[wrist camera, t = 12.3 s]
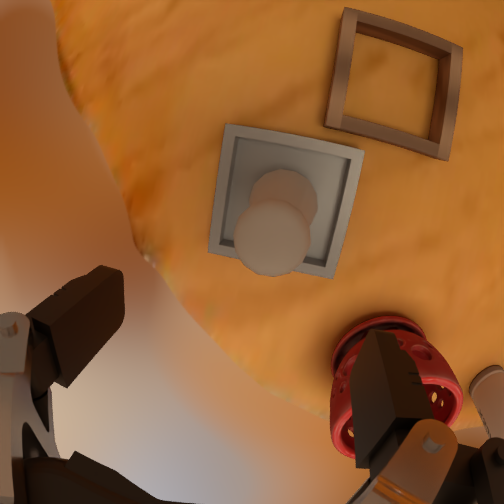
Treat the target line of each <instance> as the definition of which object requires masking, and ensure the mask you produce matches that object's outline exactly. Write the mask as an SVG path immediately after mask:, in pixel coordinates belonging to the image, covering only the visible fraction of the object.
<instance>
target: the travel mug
mask: <svg viewBox="0 0 504 504" xmlns="http://www.w3.org/2000/svg"><path fill="white" fill-rule="evenodd" d="M469 392H470V395H471V397H472V399H473V402H474V404H475V406H476V408H477V411H478V413H479V415H480V418H481V420H482V422H483V425H484V427H485V430H486V432H487V434H488V437H489V439H490V438H493V437H499V438H502V439H504V370H503V368H502V367H500V366H492V367H489V368H487V369H485V370H483V371H482V372H481V373H480V374H479V375H477V376H476V378H475V379H474V380H473V382H472V383H471V385H470V389H469Z"/></svg>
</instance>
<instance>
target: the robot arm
mask: <svg viewBox="0 0 504 504" xmlns="http://www.w3.org/2000/svg"><path fill="white" fill-rule="evenodd" d="M124 315H125V304H124V279H123V273H122V272H121V271H120V270H117V269H114V268H110V267H107V266H103V265H100V266H98V267H96V268H95V269H94V270H92V271H91V272H89V273H88V274H87V275H84V276H81V277H78V278H76V279H73V280H71V281H69V282H68V283H67V284H66V285H64V286H63V287H62V289H59V290H57V291H56V292H55V293H54V295H50V296H49V297H48V298H47V299H45V300H44V301H43V302H41V303H40V304H39V305H37V306H36V307H35V308H33V309H32V310H31V311H30V312H29V313H27V314H26V315H24V314H22V313H18V312H7V313H3V314H0V504H194V503H181V502H171V501H163V500H159V499H157V498H155V497H153V496H151V495H150V494H148V493H147V492H145V491H144V490H142V489H141V488H139V487H138V486H136V485H135V484H133V483H132V482H131V481H129V480H128V479H126V478H125V477H124V476H122V475H121V474H119V473H118V472H117V471H115V470H113V469H111V468H109V467H107V466H104V465H102V464H100V463H98V462H96V461H94V460H92V459H90V458H88V457H86V456H84V455H82V454H80V453H78V452H77V451H74V453H73V455H72V456H71V457H70V459H69V460H68V459H62V458H60V455H59V452H58V450H57V446H56V443H55V437H54V425H53V410H52V392H51V389H50V386H51V385H52V384H53V382H56V383H58V384H60V385H61V386H63V387H65V388H68V387H69V386H70V384H71V383H72V382H73V381H74V379H75V378H76V377H77V376H78V375H79V374H80V373H81V371H82V370H83V369H84V368H85V367H86V366H87V364H88V363H89V362H90V361H91V360H92V359H93V357H94V356H95V355H96V354H97V353H98V352H99V350H100V349H101V348H102V347H103V346H104V345H105V343H106V342H107V341H108V340H109V339H110V338H111V337H112V336H113V334H114V333H115V332H116V331H117V330H118V329H119V328H120V326H121V324H122V322H123V319H124ZM422 384H423V382H422V379H421V377H420V376H419V371H418V368H417V366H416V363H415V361H414V360H413V359H412V357H411V356H410V355H409V354H408V353H407V352H406V350H401V349H400V347H399V344H398V341H397V338H396V335H395V334H394V333H393V332H388V331H382V330H376V329H371V330H369V332H368V334H367V336H366V338H365V340H364V343H363V345H362V347H361V349H360V352H359V354H358V356H357V358H356V360H355V363H354V365H353V367H352V370H351V374H350V381H349V386H350V395H351V406H352V417H353V429H354V443H355V460H356V468H364V469H370V477H369V478H368V479H367V480H366V481H365V482H364V483H363V485H362V486H361V487H360V488H359V489H358V490H357V492H356V493H355V494H354V495H353V496H352V497H351V498H350V499H349V501H348V502H347V503H346V504H477V503H478V504H504V439H502V438H499V437H493V438H490V439H488V440H487V441H486V442H485V443H484V444H483V445H482V446H481V447H480V448H479V449H478V448H474V447H470V446H466V445H462V444H459V443H458V442H457V438H456V436H455V434H454V432H453V431H452V430H451V429H450V428H449V427H448V426H447V425H446V424H444V423H442V422H440V421H438V420H435V418H434V415H433V412H432V409H431V406H430V403H429V400H428V397H427V394H426V391H425V388H424V386H422Z"/></svg>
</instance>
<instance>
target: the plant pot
mask: <svg viewBox="0 0 504 504" xmlns="http://www.w3.org/2000/svg"><path fill="white" fill-rule="evenodd" d="M371 329H376V330H382V331H388V332H393V333H394V334H395V335H396V338H397V341H398V344H399V347H400V349H401V350H406V352H407V353H408V354H409V355H410V356H411V357H412V359H413V360H414V361H415V363H416V366H417V368H418V371H419V376H420V377H421V379H422V382H423V384H422V386H424V388H425V391H426V394H427V397H428V400H429V403H430V406H431V409H432V412H433V415H434V418H435V420H438V421H440V422H442V423H444V424H446V425H447V426H448V427H449V428H450V427H451V425H452V424H453V423H454V422H455V420H456V419H457V417H458V415H459V413H460V411H461V408H462V404H463V392H462V389H461V387H460V385H459V383H458V381H457V378H456V376H455V375H454V373H453V371H452V369H451V368H450V366H449V364H448V363H447V361H446V360H445V359H444V357H443V356H442V355H441V354H440V353H439V351H438V350H437V349H436V348H435V347H434V346H433V345H431V344H430V343H429V342H428V341H427V339H426V336H425V334H424V332H423V331H422V329H421V328H420V327H419V326H418V325H417V324H416V323H414V322H413V321H411V320H409V319H406V318H403V317H398V316H382V317H377V318H373V319H370V320H368V321H365V322H363V323H361V324H359V325H357V326H356V327H354V328H353V329H351V330H350V331H349V332H348V333H347V334H345V335H344V336H343V338H342V339H341V340H340V342H339V343H338V345H337V346H336V348H335V350H334V353H333V356H332V360H331V371H332V375H333V377H334V381H333V385H332V391H331V398H330V431H331V439H332V442H333V444H334V446H335V448H336V449H337V450H338V451H339V452H340V453H342V454H343V455H345V456H347V457H350V458H353V459H355V443H354V437H351V436H350V435H349V433H348V429H349V430H351V431H352V432H353V434H354V429H353V417H352V406H351V395H350V386H349V381H350V374H351V370H352V367H353V365H354V363H355V360H356V358H357V356H358V354H359V352H360V349H361V347H362V345H363V343H364V340H365V338H366V336H367V334H368V332H369V330H371ZM440 385H441V386H443V387H444V388H442V387H441V386H440ZM434 392H436V394H437V399H436V401H435V402H434V403H433V402H432V395H433V393H434ZM442 400H443V402H444V404H443V407H442V406H441V403H442Z"/></svg>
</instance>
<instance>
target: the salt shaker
mask: <svg viewBox="0 0 504 504" xmlns="http://www.w3.org/2000/svg"><path fill="white" fill-rule="evenodd" d="M249 206H250V207H249V208H248V209H247V210H245V211H244V212H243V213H242V214H241V215H240V216H239V218H238V221H237V224H236V227H235V230H234V235H233V237H234V246H235V252H236V254H237V255H238V257H239V258H240V260H241V261H242V263H243V264H244V265H245V266H246V267H248V268H249V269H251V270H252V271H254V272H255V273H257V274H259V275H266V276H272V277H275V276H280V275H284V274H288V273H290V272H292V271H293V270H294V269H295V268H296V267H298V266H299V265H300V264H301V263H302V262H303V260H304V258H305V256H306V254H307V252H308V249H309V247H310V245H311V240H310V227H309V226H310V225H311V224H312V222H313V219H314V217H315V215H316V213H317V210H318V203H317V194H316V192H315V190H314V188H313V186H312V184H311V183H310V181H309V180H308V179H306V178H305V177H303V176H302V175H300V174H299V173H297V172H295V171H290V170H284V169H278V170H275V171H272V172H269V173H266V174H265V175H263V176H262V177H261V178H260V179H259V180H258V181H257V182H256V183H255V184H254V186H253V188H252V191H251V194H250V197H249Z"/></svg>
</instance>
